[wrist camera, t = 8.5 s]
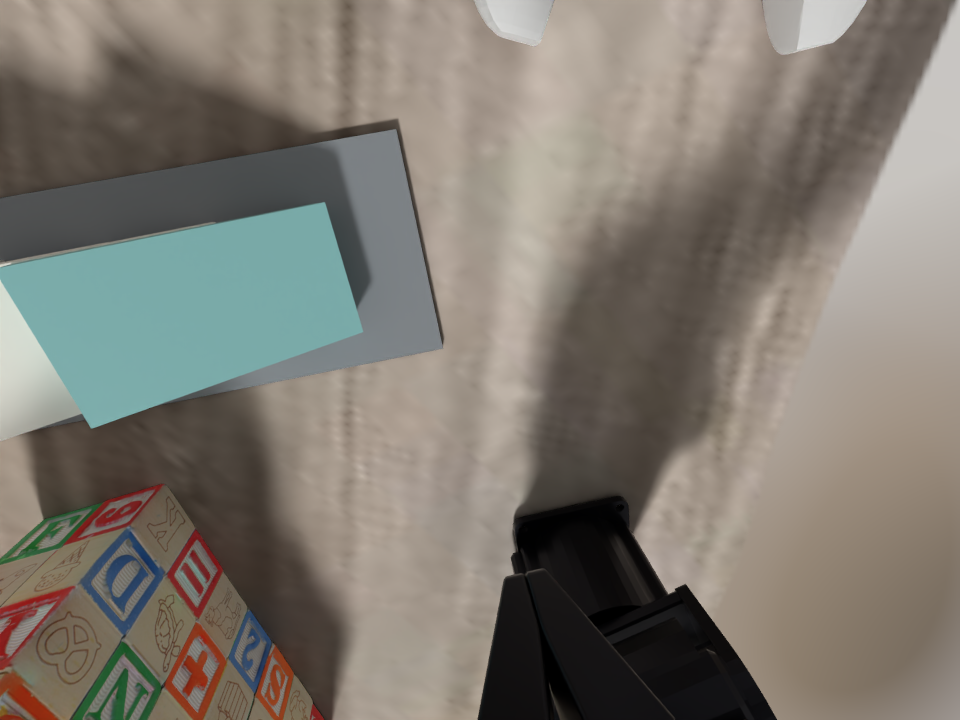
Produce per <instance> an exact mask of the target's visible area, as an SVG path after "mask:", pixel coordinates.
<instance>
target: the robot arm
mask: <svg viewBox="0 0 960 720" xmlns="http://www.w3.org/2000/svg"><path fill="white" fill-rule="evenodd" d="M619 504H620V506H618V507H616V506H617V505H619ZM521 526H525V527H523V528H520V527H521ZM513 528H514V534H515V540H516V545H517V551H518V552H516V553H513V555H512V556H511V561H512V567H513V572H514V575H511V576H507V577H505V579H504V581H503V587H502V592H501V597H500V603H499V608H498V613H497V619H496V624H495V629H494V635H493V640H492V645H491V651H490V656H489V661H488V667H487V672H486V677H485V683H484V688H483V693H482V699H481V704H480V709H479V715H478V720H777V719H776V717H775V715H774V713H773V712H772V710H771V708H770V706H769V705H768V703H767V701H766V699H765V698H764V696H763V694H762V693H761V691H760V689H759V688H758V686H757V685H756V683H755V681H754V680H753V678H752V676H751V675H750V673H749V672H748V670H747V668H746V667H745V665H744V664H743V662H742V661H741V659H740V658H739V657H738V655H737V654H736V652H735V651H734V649H733V648H732V647H731V645H730V644H729V642H728V641H727V640H726V638H725V637H724V636H723V634H722V633H721V631H720V630H719V629H718V627H717V626H716V625H715V623H714V622H713V621H712V619H711V618H710V617H709V615H708V614H707V612H706V611H705V610H704V608H703V607H702V606H701V604H700V603H699V602H698V600H697V599H696V598H695V596H694V595H693V593H692V592H691V591H690V589H689V588H688V587H687V585H686V584H685V585H682V586H680V587H678V588H676V589H675V591H674V592H672V593H670V594H668V593H667V591H666V590H665V588H664V586H663V584H662V583H661V581H660V579H659V578H658V576H657V574H656V573H655V571H654V569H653V568H652V566H651V564H650V562H649V561H648V559H647V557H646V556H645V554H644V552H643V551H642V549H641V547H640V546H639V544H638V542H637V540H636V539H635V537H634V535H633V534H632V532H631V530H630V529H629V508H628V503H627V502H626V500H625V499H624V498H623V497H621V496H615V497H611V498H606V499H602V500H597V501H593V502H588V503H584V504H579V505H574V506H570V507H565V508H561V509H556V510H552V511H547V512H543V513H538V514H534V515H529V516H525V517H520V518H518V519H516V520H515V521H514V523H513Z"/></svg>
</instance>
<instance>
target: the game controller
mask: <svg viewBox="0 0 960 720" xmlns="http://www.w3.org/2000/svg"><path fill="white" fill-rule="evenodd" d="M866 1H867V0H762V2H763V10H764V17H765V22H766V27H767V32H768V35H769V38H770V41H771V43H772V45H773V47H774V49H775V50H776V51H777V52H778V53H779V54H783V55H787V54H791V53H795V52H799V51H803V50H807V49H811V48H815V47H819V46H822V45H826V44H830V43H833V42H835V41H836V40H837V39H838V38H839V37H840V36H842V35H843V34H844V32H845V31H846V30H847V29H848V28H849V26H850V25H851V24H852V23H853V22H854V20H855V19H856V17H857V16H858V14H859V12H860V11H861V9H862V8H863V6H864V5H865V3H866ZM474 2H475V4H476V7H477V9H478V12H479V14H480V15H481V17H482V18H483V20H484V22H485V23H486V25H487V26H488V27H489V28H490V29H491V30H492V31H493V32H494V33H496V34H497V35H498V36H500V37H502V38H505V39H509V40H513V41H516V42H520V43H524V44H527V45H531V46H536V45H538V44H539V43H540V42H541V39H542V36H543V34H544V30H545V27H546V24H547V21H548V18H549V15H550V12H551V9H552V6H553V3H554V0H474Z"/></svg>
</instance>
